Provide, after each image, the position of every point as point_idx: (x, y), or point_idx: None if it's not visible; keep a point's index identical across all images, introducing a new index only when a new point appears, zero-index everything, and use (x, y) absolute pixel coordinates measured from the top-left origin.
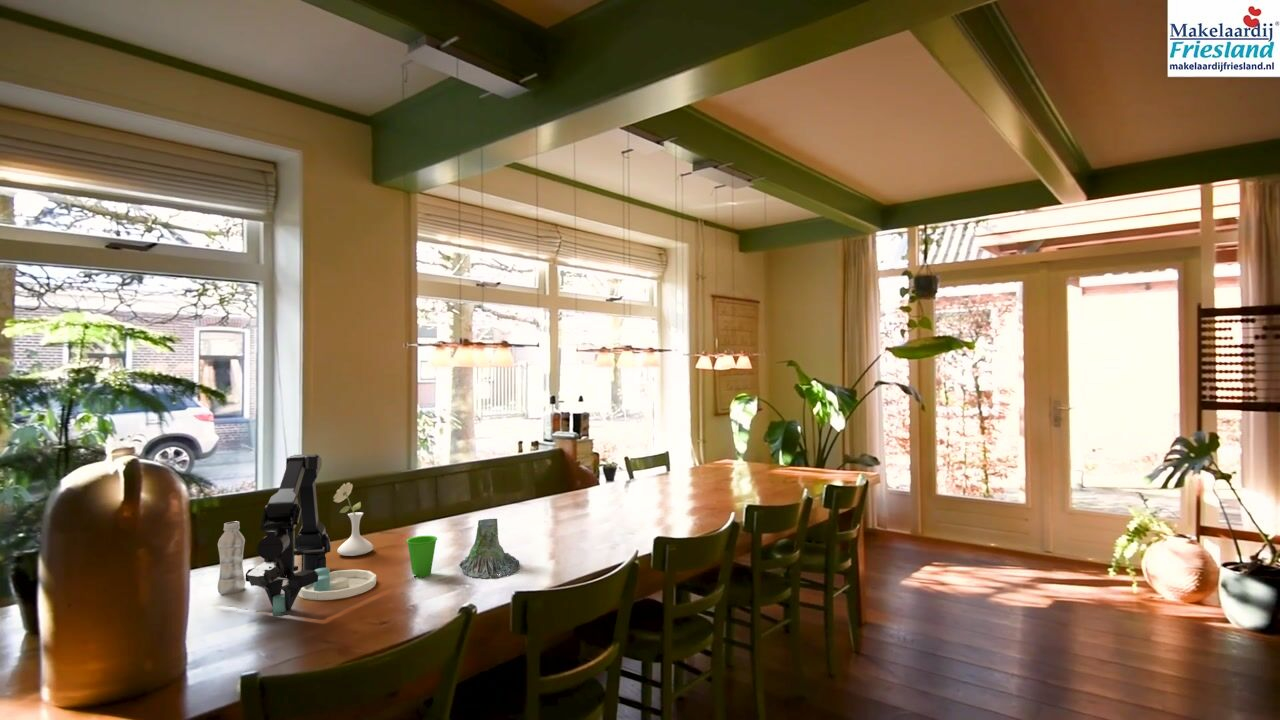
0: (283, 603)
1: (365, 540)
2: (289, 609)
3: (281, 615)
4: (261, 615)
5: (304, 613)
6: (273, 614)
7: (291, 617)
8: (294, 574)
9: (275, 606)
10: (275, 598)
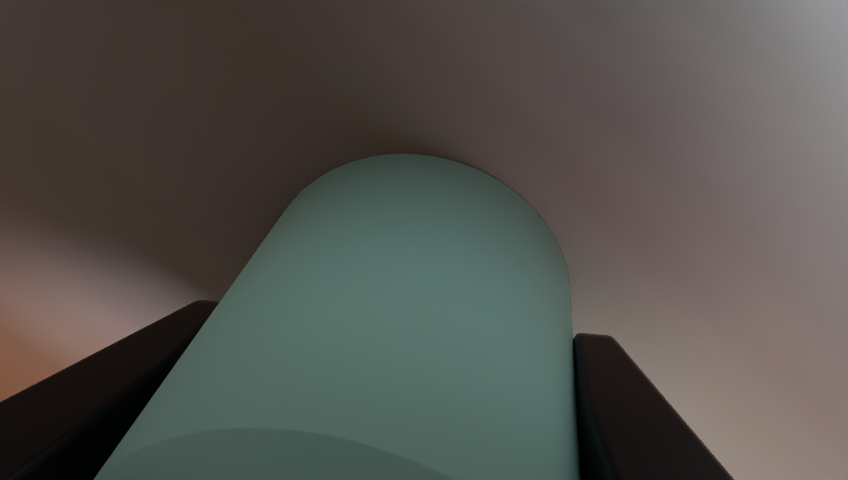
0: (165, 378)
1: None
2: None
3: (294, 199)
4: (776, 125)
5: (56, 364)
6: (466, 179)
7: (63, 184)
8: None
9: (353, 265)
10: (303, 446)
